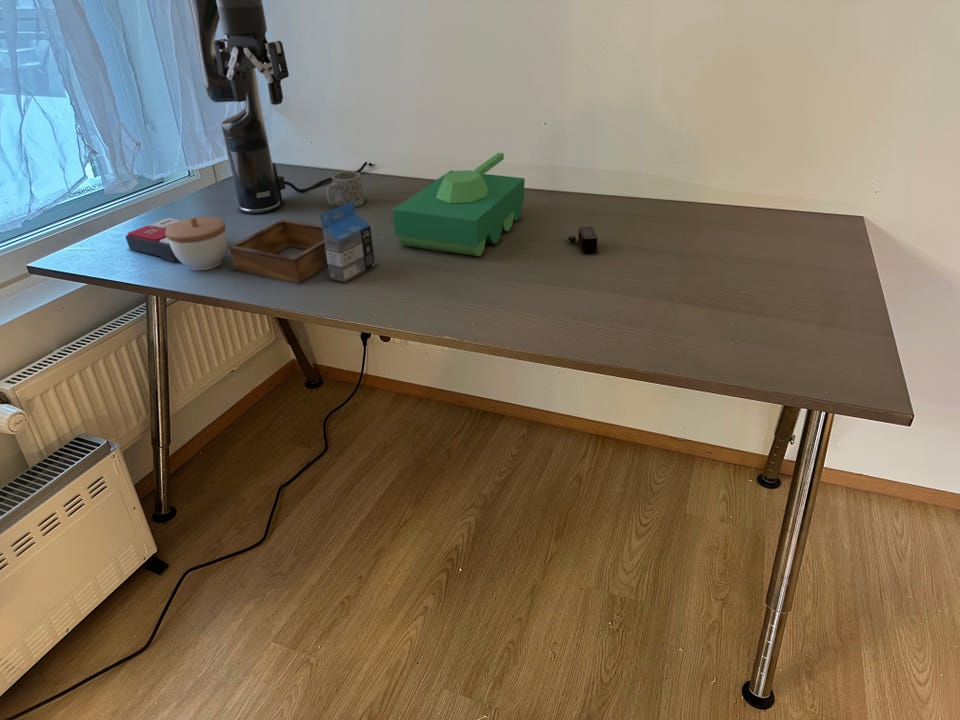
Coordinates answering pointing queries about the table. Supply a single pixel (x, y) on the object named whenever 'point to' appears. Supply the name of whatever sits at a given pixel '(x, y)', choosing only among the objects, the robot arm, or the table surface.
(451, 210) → the green tank
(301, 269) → the wooden square tray
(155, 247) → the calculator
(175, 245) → the trinket box
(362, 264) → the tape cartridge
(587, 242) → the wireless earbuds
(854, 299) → the table surface
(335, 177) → the mug
